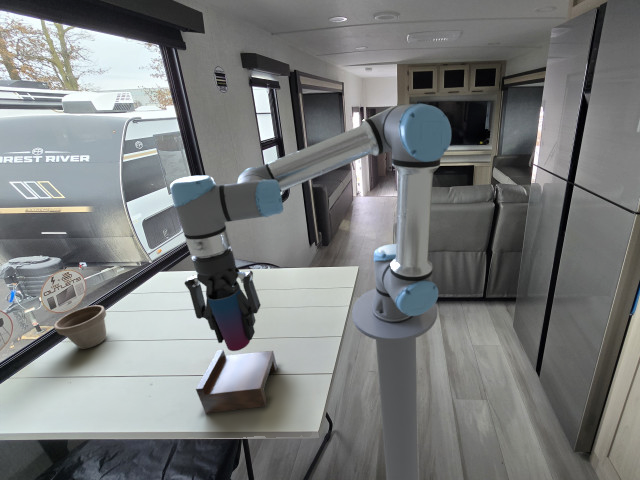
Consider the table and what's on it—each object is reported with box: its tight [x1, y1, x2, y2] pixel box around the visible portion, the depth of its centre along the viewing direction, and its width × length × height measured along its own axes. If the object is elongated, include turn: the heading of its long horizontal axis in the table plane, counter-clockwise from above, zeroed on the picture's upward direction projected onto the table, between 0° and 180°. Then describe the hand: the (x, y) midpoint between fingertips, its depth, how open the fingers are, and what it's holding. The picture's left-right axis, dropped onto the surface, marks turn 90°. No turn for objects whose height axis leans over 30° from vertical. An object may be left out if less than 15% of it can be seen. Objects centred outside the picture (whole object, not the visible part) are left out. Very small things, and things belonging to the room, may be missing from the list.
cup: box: [205, 284, 251, 352], centre depth 71 cm, size 7×7×15 cm
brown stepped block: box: [195, 349, 278, 414], centre depth 78 cm, size 14×12×8 cm
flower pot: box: [53, 304, 107, 350], centre depth 96 cm, size 12×11×10 cm
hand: (237, 337), depth 73 cm, fingers closed on cup, 6 cm apart
